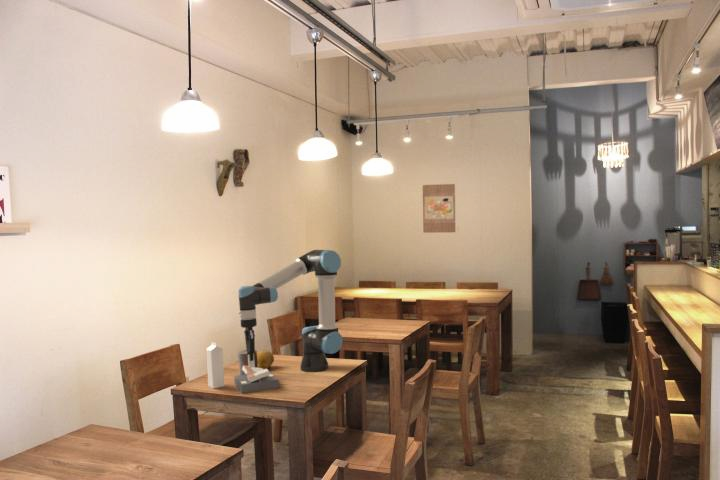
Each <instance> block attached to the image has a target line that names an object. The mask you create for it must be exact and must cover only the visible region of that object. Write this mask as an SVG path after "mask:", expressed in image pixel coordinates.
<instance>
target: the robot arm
mask: <svg viewBox="0 0 720 480" xmlns="http://www.w3.org/2000/svg"><path fill="white" fill-rule="evenodd" d="M341 266H342V259H341V257H340V255H339V254H338V252H336V251H335V250H333V249H331V250H330V249H313V250H310V251H308V252H306V253H304V254H303V255H301V256H299V257H298V258H296V259H295V260H294V262H292V263H291V264H289V265H287V266H285V267H283V268H282V269H280V270H279V271H277V272H275V273H273V274H271V275H270V276H267V277H266V278H264V279H262V280H261V281H259V282H256V283H255V284H253V285H244V286H240V287H238V301H239V304H238V305H239V312H238V315H239V316H240V327H241V328H244V329H245V330H244V338H245V339H244V340H245V346H246V347H245V348H246V349H245V350H246V351H247V355H248V365H249V368H251V367H255V362H254V353H255V350H256V348H255V347H256V345H255V343H256V342H255V339H256V338H255V337H256V335H255V330H254V329H253V328H254V327H257V326H258V325H257V324H258V323H257V307H256V305H261V304H263V305H264V304H271V303H275V302H277V300H278V297H279V294H278V290H277V289H279V288H280V287H282V286H284V285H286V284H288V283H289V282H291V281H293V280H294V279H296V278H298V277H300V276H302V275H303V276H304V275H307V274H308V273H313V272H314V277H316V278H317V285H318V288H317V289H318V290H317V291H318V298H317V299H318V325H313V326H312V325H311V326H305V327H303V328H302V329H301V337H302V339H301V341H302V342H301V343H302V358H301V362H300V366H299V367H300V371H302V372H303V371H304V372H310V373H311V372H321V371H324V370H325V371H326V370H327V369H328V368H329V361H328V359H327V356H326V354H331V355H333V354H336V353H337V352H339V350H340V349H341V348H342V345H343V343H344V341H343V336H342V335H341V333H340V332H339V326H338V325H337V324H336V301H335V300H336V299H335V297H336V295H335V292H336V291H335V278H336V277H337V276H338V271H339V270H340V269H341Z"/></svg>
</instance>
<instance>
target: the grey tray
mask: <svg viewBox="0 0 720 480" xmlns="http://www.w3.org/2000/svg"><path fill="white" fill-rule="evenodd" d="M269 373H270V375H268V376H266V377H263V378H260V379H258V380H255V381H253V382H249V380H248V378H247V375H234V377H233V379H234V385H235V386H236V388H237V389H238V391H239V392H240V393H241V394H247V393H253V392H259V391H267V390H274V389H279V388H280V384H279V378H277V377H276V376H275V375H274V374H273V373H272V372H271V371H269Z"/></svg>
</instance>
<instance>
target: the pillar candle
mask: <svg viewBox="0 0 720 480" xmlns="http://www.w3.org/2000/svg"><path fill="white" fill-rule="evenodd" d="M246 350H247V349H245V350H244V349H243V350H241V351H238V352H237V356H238V373H239V375H246V374H245V373H244V371H243V370H242V368H243V365H245V366H249V365H248V355H247V351H246ZM257 354H258V351H257V350H256V349H255V353H254V362H255V367H256V368H258V366H257ZM239 375H238V376H239Z"/></svg>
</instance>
